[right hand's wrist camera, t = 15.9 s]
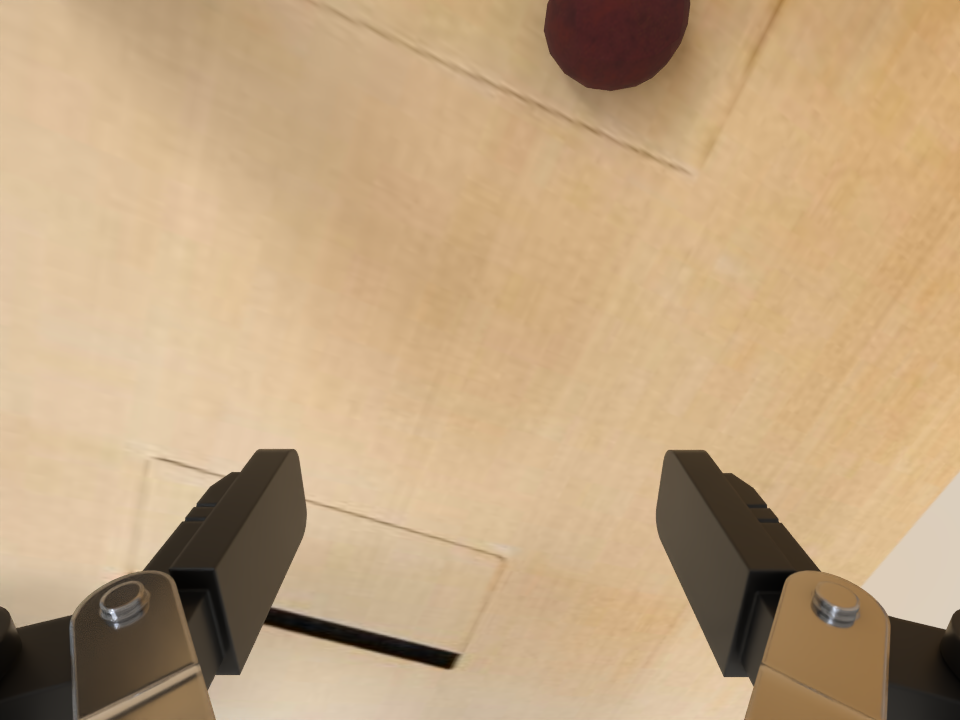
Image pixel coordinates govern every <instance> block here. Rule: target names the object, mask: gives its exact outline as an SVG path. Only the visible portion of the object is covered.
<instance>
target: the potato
mask: <svg viewBox="0 0 960 720" xmlns="http://www.w3.org/2000/svg"><path fill="white" fill-rule="evenodd" d="M689 9H690V0H549V2H548V4H547V11H546V19H545V26H544V33H545V37H546V40H547V44H548V48H549V52H550V54H551V56H552V57H553V58H554V60H555V61H556V62H557V64H558V65H559V66H560V68H561V69H562V71H563V72H564V73H565V74H567V75H568V76H570V77H571V78H573V79H574V80H576V81H578V82H579V83H581V84H582V85H584V86H585V87H587V88H593V89H601V90H608V91H613V90H618V89H624V88H629V87H634V86H637V85H639V84H641V83H643V82H645V81H647V80H649V79H651V78H652V77H653V76H654V75H656V74H657V73H658V72H659V71H660V70H661V69H662V68H663V67H664V66H665V65H666V64H667V63H668V61H669V60H670V58H671V57H672V55H673V54H674V52H675V51H676V49H677V48H678V46H679V45H680V43H681V41H682V38H683V35H684V33H685V30H686V27H687V24H688V17H689Z"/></svg>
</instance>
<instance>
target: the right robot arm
mask: <svg viewBox="0 0 960 720" xmlns="http://www.w3.org/2000/svg"><path fill="white" fill-rule="evenodd" d="M306 519H307V510H306V502H305V495H304V488H303V482H302V475H301V468H300V461H299V456H298V453H297V452H296V450H294V449H259V450H257V451H256V452H255V453H254V455H253V456H252V457H251V459H250V460H249V461H248V463H247V464H246V465H245V467H244V468H243V469H242V471H241V472H231V473H230V474H228V475H227V476H225V477H224V478H222V479H221V480H219V481H218V482H217V483H215V484H214V485H212V486H211V487H210V488H209V489H208V490H207V491H206V493H205V494H204V495H203V496H202V498H201V499H200V500H199V501H198V503H197V506H196V507H194V508H193V509H192V510H191V511H190V513H189V514H188V515H187V516H186V518H185V522H182V523H181V524H180V525H179V526H178V528H177V529H176V530H175V531H174V533H173V534H172V535H171V536H170V537H169V539H168V540H167V541H166V542H165V544H164V545H163V546H162V547H161V549H160V550H159V551H158V552H157V554H156V555H155V556H154V557H153V559H152V560H151V561H150V562H149V564H148V565H147V566H146V567H145V569H144V570H143V571H141V572H136V573H131V574H128V575H125V576H122V577H119V578H117V579H115V580H113V581H111V582H109V583H107V584H105V585H103V586H102V587H100V588H98V589H97V590H95V591H94V592H93V593H91V594H90V595H89V596H88V597H87V598H86V599H85V600H83V601H82V602H81V604H80V605H79V606H78V607H77V608H76V610H75V612H74V613H73V615H70V616H66V617H62V618H58V619H54V620H49V621H45V622H41V623H37V624H33V625H28V626H24V627H20V628H16V627H15V625H14V623H13V621H12V618H11V616H10V614H9V612H8V611H7V610H6V609H5V608H3V607H0V720H216V719H215V715H214V712H213V709H212V705H211V702H210V698H209V695H208V689H209V687H210V685H211V683H212V681H213V679H214V677H215V675H240V674H241V671H242V669H243V667H244V665H245V663H246V660H247V658H248V656H249V654H250V652H251V650H252V647H253V645H254V643H255V641H256V639H257V636H258V634H259V632H260V630H261V628H262V626H263V623H264V621H265V619H266V617H267V615H268V612H269V610H270V608H271V606H272V604H273V602H274V599H275V597H276V595H277V593H278V591H279V588H280V586H281V584H282V582H283V580H284V578H285V575H286V573H287V571H288V569H289V567H290V564H291V562H292V560H293V558H294V556H295V554H296V551H297V549H298V547H299V545H300V543H301V540H302V538H303V535H304V532H305V527H306ZM656 524H657V530H658V534H659V537H660V540H661V542H662V544H663V546H664V549H665V551H666V553H667V555H668V557H669V559H670V562H671V564H672V566H673V568H674V570H675V572H676V574H677V577H678V579H679V581H680V583H681V585H682V587H683V590H684V592H685V594H686V596H687V598H688V600H689V603H690V605H691V607H692V609H693V611H694V613H695V615H696V618H697V620H698V622H699V624H700V626H701V628H702V631H703V633H704V635H705V637H706V639H707V641H708V643H709V646H710V648H711V650H712V652H713V654H714V656H715V659H716V661H717V663H718V665H719V667H720V669H721V672H722V674H723V676H724V677H749V678H750V680H751V682H752V684H753V686H754V688H753V691H752V695H751V698H750V702H749V705H748V709H747V712H746V715H745V719H744V720H960V610H957V611H956V612H955V613H954V614H953V616H952V618H951V620H950V623H949V625H948V627H947V629H946V630H945V629H941V628H936V627H932V626H928V625H924V624H919V623H915V622H911V621H907V620H902V619H898V618H895V617H891V616H888V615H887V613H886V612H885V610H884V608H883V607H882V606H881V605H880V604H879V602H877V601H876V600H875V599H874V598H873V597H872V596H871V595H870V594H869V593H867V592H866V591H865V590H863V589H862V588H860V587H858V586H857V585H855V584H853V583H851V582H849V581H847V580H845V579H843V578H841V577H838V576H835V575H832V574H829V573H824V572H821V571H820V570H819V569H818V567H817V566H816V565H815V564H814V562H813V561H812V560H811V559H810V557H809V556H808V555H807V554H806V553H805V551H804V550H803V549H802V548H801V546H800V545H799V544H798V543H797V541H796V540H795V539H794V538H793V536H792V535H791V534H790V533H789V532H788V530H787V529H786V528H785V527H784V525H783V524H782V523H779V521H778V518H777V517H776V515H775V514H774V513H773V512H772V511H771V509H770V508H767V504H766V503H765V502H764V501H763V499H762V498H761V497H760V496H759V495H758V493H757V492H756V491H755V490H754V488H753V487H751V486H750V485H748V484H747V483H745V482H744V481H742V480H741V479H739V478H738V477H736V476H735V475H733V474H732V473H722V471H721V470H720V469H719V467H718V466H717V465H716V463H715V462H714V461H713V460H712V458H711V457H710V456H709V454H708V453H707V452H706V451H705V450H668V451H667V452H666V454H665V457H664V461H663V467H662V474H661V481H660V487H659V494H658V501H657V507H656Z"/></svg>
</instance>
